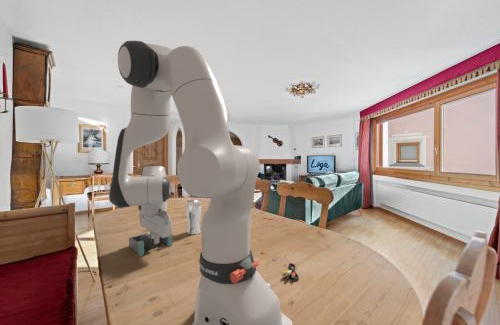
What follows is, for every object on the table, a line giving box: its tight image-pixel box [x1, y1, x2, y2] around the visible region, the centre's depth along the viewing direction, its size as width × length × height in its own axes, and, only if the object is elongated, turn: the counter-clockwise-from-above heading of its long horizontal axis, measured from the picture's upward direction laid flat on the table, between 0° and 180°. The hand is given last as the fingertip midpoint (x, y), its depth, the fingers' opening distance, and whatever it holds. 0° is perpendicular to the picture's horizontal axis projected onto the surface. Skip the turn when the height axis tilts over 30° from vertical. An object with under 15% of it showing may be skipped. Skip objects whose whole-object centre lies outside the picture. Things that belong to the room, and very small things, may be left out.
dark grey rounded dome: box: [140, 231, 160, 251], centre depth 85 cm, size 7×7×5 cm
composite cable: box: [281, 262, 300, 282], centre depth 66 cm, size 10×5×2 cm, turn 156°
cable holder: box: [128, 232, 173, 257], centre depth 85 cm, size 12×12×5 cm
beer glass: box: [185, 199, 202, 235], centre depth 100 cm, size 7×7×15 cm
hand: (155, 242), depth 82 cm, fingers closed
